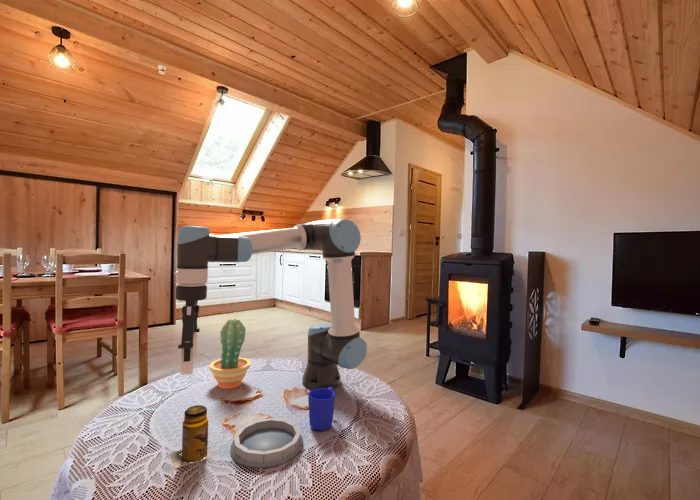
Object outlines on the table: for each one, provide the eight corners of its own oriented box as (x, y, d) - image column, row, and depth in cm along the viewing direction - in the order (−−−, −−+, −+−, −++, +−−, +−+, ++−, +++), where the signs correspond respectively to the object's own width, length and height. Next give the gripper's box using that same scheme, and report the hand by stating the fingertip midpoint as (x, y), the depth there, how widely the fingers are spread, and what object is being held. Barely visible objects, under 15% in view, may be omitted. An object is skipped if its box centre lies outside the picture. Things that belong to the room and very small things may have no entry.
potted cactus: (259, 382, 136) (260, 319, 135) (226, 396, 123) (228, 326, 122) (233, 373, 144) (234, 314, 144) (199, 385, 131) (201, 320, 131)
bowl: (293, 422, 106) (293, 412, 106) (310, 458, 88) (311, 446, 88) (228, 433, 99) (228, 423, 99) (233, 475, 81) (233, 462, 81)
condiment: (211, 458, 87) (212, 411, 87) (174, 469, 83) (175, 420, 82) (205, 444, 93) (206, 400, 93) (170, 453, 89) (171, 407, 89)
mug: (342, 416, 110) (343, 385, 110) (328, 436, 99) (329, 401, 99) (319, 412, 113) (320, 381, 113) (302, 430, 102) (303, 396, 101)
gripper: (180, 279, 101) (178, 351, 101) (169, 290, 78) (166, 383, 78) (208, 279, 104) (205, 349, 104) (205, 290, 80) (202, 380, 81)
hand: (188, 364), depth 91 cm, fingers open, 13 cm apart
